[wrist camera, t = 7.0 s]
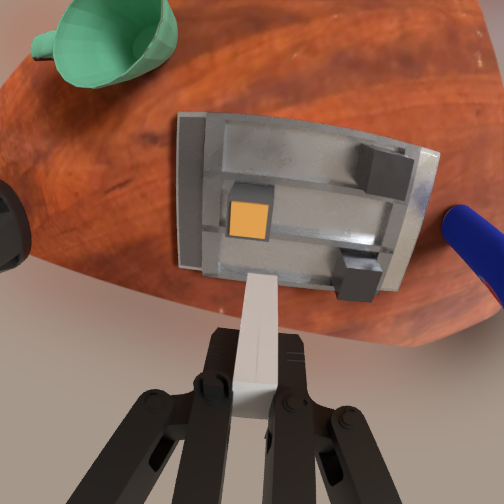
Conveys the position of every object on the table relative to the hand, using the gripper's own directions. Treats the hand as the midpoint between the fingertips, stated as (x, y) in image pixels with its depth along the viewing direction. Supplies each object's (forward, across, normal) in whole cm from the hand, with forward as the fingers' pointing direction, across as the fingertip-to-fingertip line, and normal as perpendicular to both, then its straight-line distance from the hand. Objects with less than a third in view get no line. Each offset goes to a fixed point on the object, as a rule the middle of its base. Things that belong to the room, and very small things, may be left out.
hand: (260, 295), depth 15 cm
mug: (+16, -15, +16) cm, 27 cm away
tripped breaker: (+14, -1, 0) cm, 14 cm away
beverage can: (+16, +23, +1) cm, 28 cm away
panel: (+16, +4, 0) cm, 16 cm away
